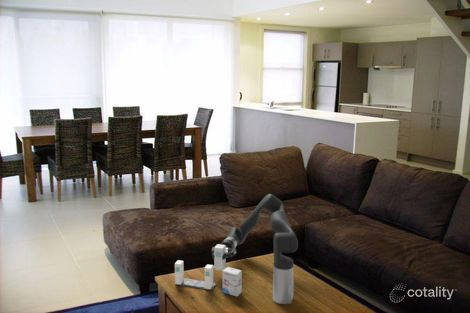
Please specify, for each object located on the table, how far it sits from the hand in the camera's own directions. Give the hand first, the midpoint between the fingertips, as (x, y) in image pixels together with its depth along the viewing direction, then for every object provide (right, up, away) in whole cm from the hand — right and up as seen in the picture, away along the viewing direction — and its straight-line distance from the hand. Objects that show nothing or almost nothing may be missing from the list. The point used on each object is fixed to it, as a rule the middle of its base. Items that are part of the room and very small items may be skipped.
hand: (218, 257), depth 224 cm
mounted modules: (-12, -13, -6) cm, 18 cm away
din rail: (-11, -13, -4) cm, 18 cm away
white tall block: (+1, -6, +4) cm, 8 cm away
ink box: (+7, -15, -11) cm, 20 cm away
